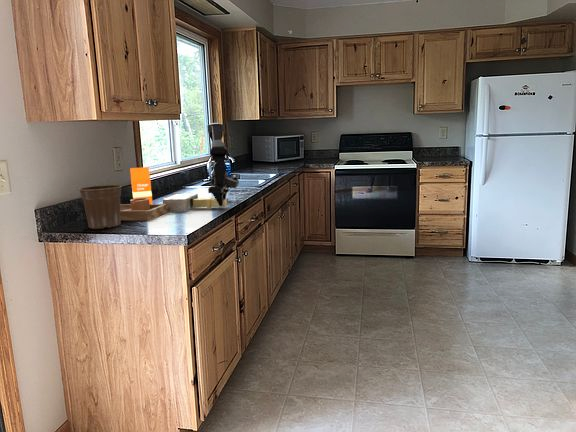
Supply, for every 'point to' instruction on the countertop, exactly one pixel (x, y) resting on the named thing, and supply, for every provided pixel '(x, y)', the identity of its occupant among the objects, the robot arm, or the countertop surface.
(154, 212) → the tray
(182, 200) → the white rectangular box
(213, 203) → the end cover
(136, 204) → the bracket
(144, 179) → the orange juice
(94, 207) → the plant pot
